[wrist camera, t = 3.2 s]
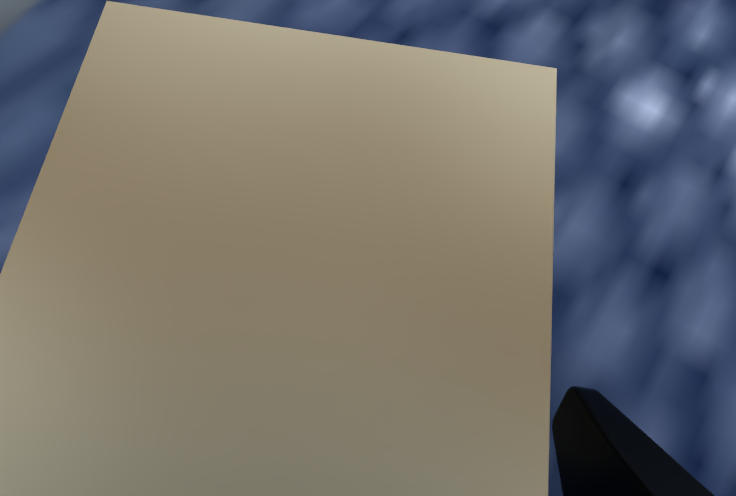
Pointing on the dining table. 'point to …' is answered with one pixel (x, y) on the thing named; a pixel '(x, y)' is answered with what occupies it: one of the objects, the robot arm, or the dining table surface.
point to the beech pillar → (282, 271)
